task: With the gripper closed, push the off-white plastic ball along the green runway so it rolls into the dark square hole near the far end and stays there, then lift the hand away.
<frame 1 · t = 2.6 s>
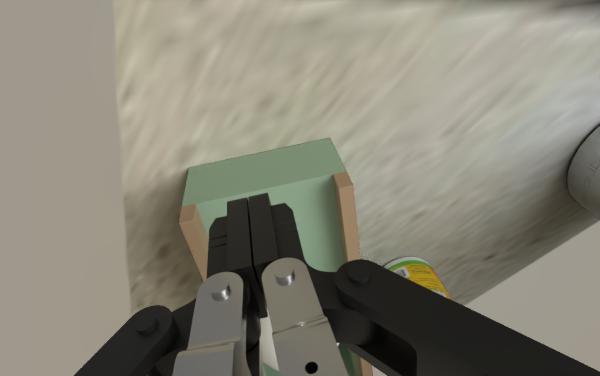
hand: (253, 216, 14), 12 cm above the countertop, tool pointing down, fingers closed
ball: (294, 320, 24), point 7 cm above the countertop, touching runway
runway: (288, 269, 32), on the countertop
supplement bottle: (401, 275, 35), on the countertop
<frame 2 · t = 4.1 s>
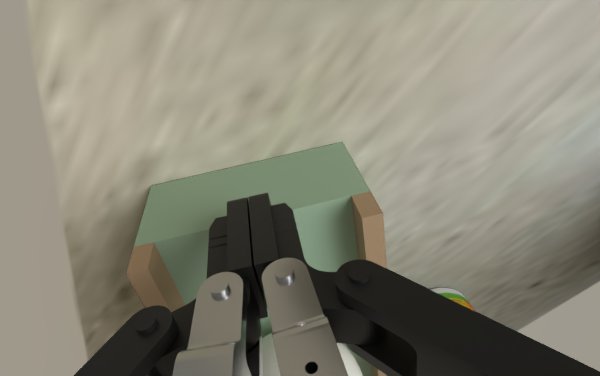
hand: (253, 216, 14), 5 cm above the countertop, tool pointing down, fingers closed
runway: (288, 308, 26), on the countertop
supplement bottle: (427, 309, 28), on the countertop
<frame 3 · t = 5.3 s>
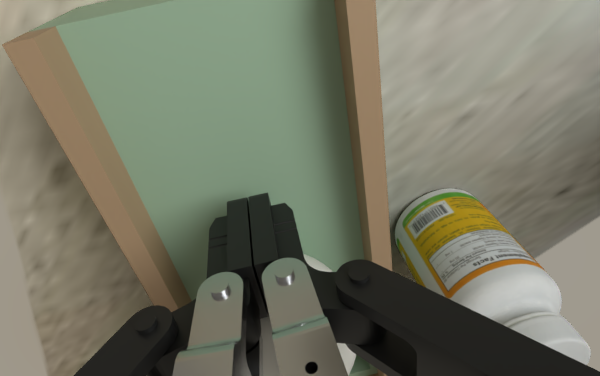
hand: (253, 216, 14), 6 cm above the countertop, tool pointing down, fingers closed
ball: (279, 329, 15), point 7 cm above the countertop, tilted 52°, touching gripper, runway
runway: (266, 207, 21), on the countertop
supplement bottle: (434, 221, 24), on the countertop
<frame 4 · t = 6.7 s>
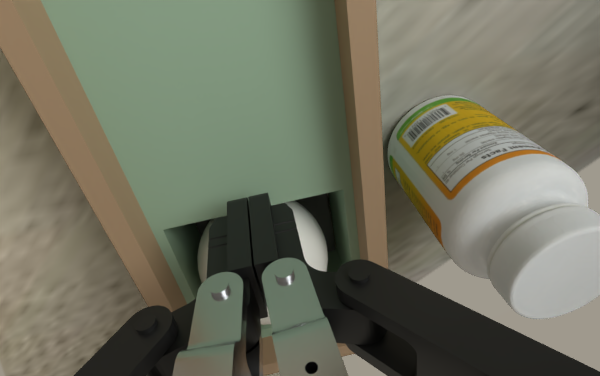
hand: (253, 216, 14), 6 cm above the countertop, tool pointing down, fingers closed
ball: (263, 256, 18), point 3 cm above the countertop, tilted 173°, touching runway
runway: (236, 109, 18), on the countertop
supplement bottle: (433, 141, 21), on the countertop
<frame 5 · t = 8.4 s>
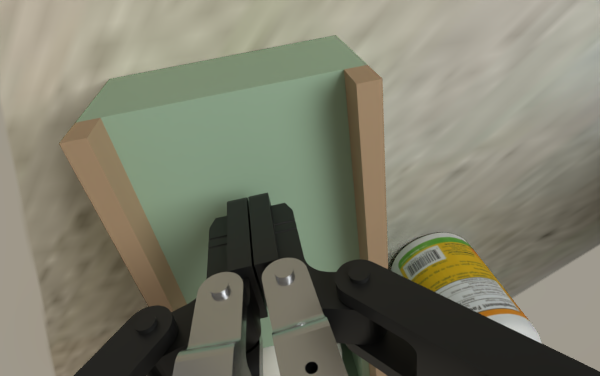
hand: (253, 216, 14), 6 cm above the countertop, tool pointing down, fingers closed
ball: (290, 357, 23), point 3 cm above the countertop, tilted 163°, touching runway
runway: (272, 249, 23), on the countertop
supplement bottle: (427, 260, 26), on the countertop
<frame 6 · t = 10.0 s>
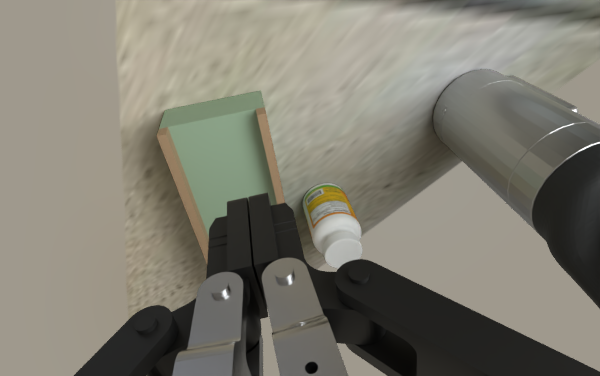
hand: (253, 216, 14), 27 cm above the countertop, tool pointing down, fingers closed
runway: (239, 190, 45), on the countertop
supplement bottle: (323, 199, 48), on the countertop
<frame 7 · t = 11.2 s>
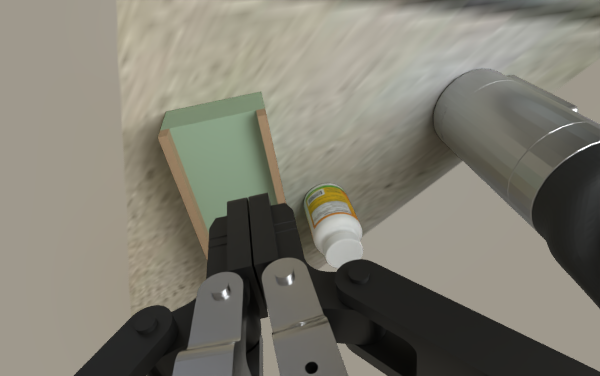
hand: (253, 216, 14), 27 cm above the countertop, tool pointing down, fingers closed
runway: (240, 191, 46), on the countertop
supplement bottle: (324, 199, 48), on the countertop
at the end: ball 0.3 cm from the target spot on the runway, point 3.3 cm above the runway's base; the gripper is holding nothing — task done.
